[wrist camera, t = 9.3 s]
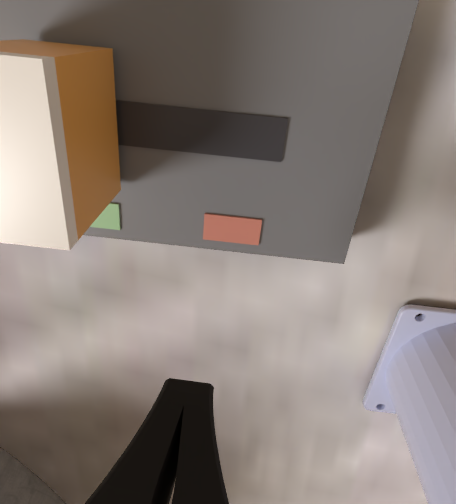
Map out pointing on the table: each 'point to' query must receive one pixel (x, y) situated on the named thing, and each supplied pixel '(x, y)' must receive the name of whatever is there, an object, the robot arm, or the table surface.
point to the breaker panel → (237, 114)
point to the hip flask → (22, 484)
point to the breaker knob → (55, 141)
